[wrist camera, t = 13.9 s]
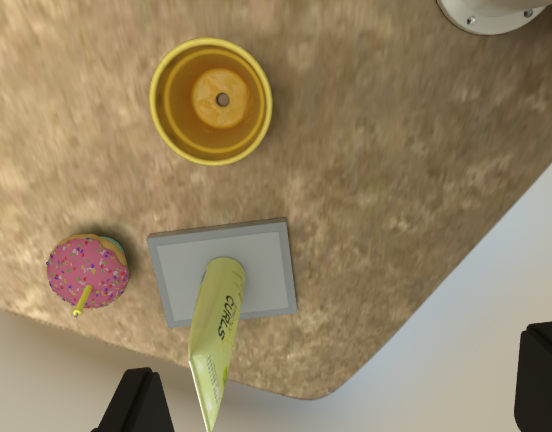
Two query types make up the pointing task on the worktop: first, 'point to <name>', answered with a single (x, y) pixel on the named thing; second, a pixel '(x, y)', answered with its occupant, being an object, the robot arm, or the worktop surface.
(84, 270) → the cupcake
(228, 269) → the tube
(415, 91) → the worktop surface
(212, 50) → the plant pot
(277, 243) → the grey flat block
